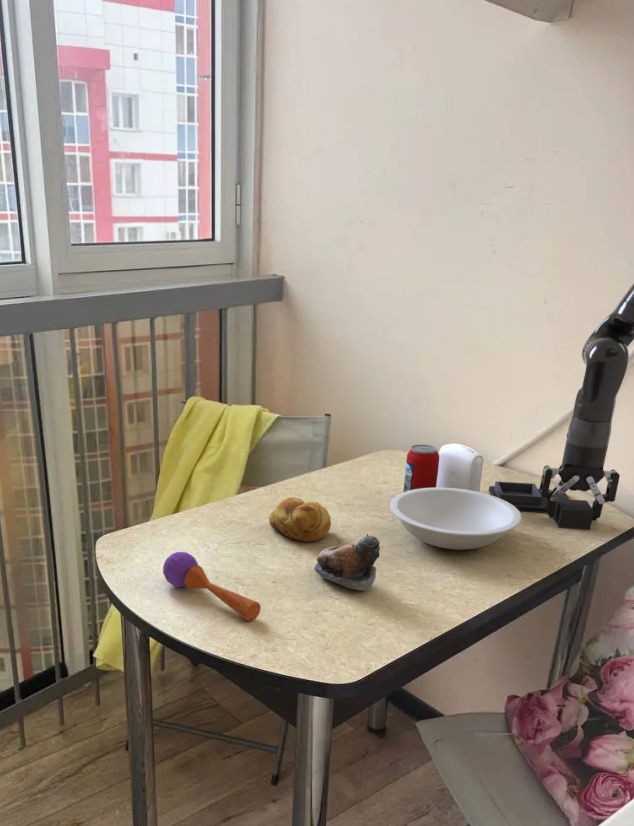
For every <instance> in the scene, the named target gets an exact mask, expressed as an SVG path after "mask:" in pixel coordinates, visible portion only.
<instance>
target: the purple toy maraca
mask: <svg viewBox="0 0 634 826" xmlns="http://www.w3.org/2000/svg"><path fill="white" fill-rule="evenodd" d="M162 573H163V577H164V579H165V580H166V582H168V584H170V585H172V586H174V587H176V588H187V589H189V590H190V589H191V590H197V589H200V590H201V589H206V590H208V591H209V592H210V593H211V594H213V595H214V596H215V597H217V598H218V599H219V600H221V601H222V602H223V603H224V604H225V605H227V606H228V607H229V608H230V609H232V610H233V612H235V613H237V614H238V615H239V616H241V617H242V618H243V619H244V620H246V621H247V622H249V623H250V622H253V621H254V620H256V619H257V618H258V617H259V615H260V612H261V609H262V608H261V604H260V602H258V601H256V600H253V599H251V598H248V597H246V596H243V595H241V594H238V593H236V592H234V591H232V590H229V589H226V588H225V587H222V586H219V585H216V584H214V583H212V582H210V580H209V577H208V576H207V574H206V572H205V570H204V568H203V567H202V566H201V565H199V564H198V561H197V560H196V558H195V557H194V556H193V555H192V554H190V553H188V552H186V551H176V552H173V553H171V554H170V555H169V556H167V558H166V559H165V561H164V563H163V567H162Z"/></svg>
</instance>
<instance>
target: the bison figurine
mask: <svg viewBox="0 0 634 826" xmlns="http://www.w3.org/2000/svg"><path fill="white" fill-rule="evenodd" d="M380 545H381V539H378V537H376V536H373V535H369V534H368V533H367V534H366V535H365V536H364V537H362V538H361V539H359V540H358V543H357V544H354V543H348V544H347V543H346V544H345V545H342V546H340V547H338V546H336V545H332V546H330V547H327V548H324V549H322V550H321V551H320V553H319V554H318V555H317V557H316V562H317V563H316V564H315V565H314V569H313V570H314V571H315V573H317V575H319V576H320V577H321V578H322V579H324V580H327V581H329V582H332V583H335V584H338V585H340V586H343V587H344V588H348V589H352V590H356V591H361V592H364V591H369V590H370V589H371V587H372V585H373V584H374V582H375V580H376V576H377V567H376V566H375V562H376V561H377V559H379V558H380V550H381V546H380Z"/></svg>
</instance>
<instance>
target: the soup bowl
mask: <svg viewBox="0 0 634 826" xmlns="http://www.w3.org/2000/svg"><path fill="white" fill-rule="evenodd" d="M389 509H390V511H391V513H392V514H393V515H394V516H395V518H397V519H398V520H399V521H400V522H401V524H402V525H403V526H404V528H405V529H406V530H407V531H408V532H409V533H410V534H411V535H412V536H414V537H415V538H416V539H418V540H420V541H421V542H423V543H426V544H427V545H431V546H434V547H437V548H440V549H446V550H447V549H448V550H456V551H457V550H459V551H461V550H474V549H480V548H482V547H486V546H488V545H491V544H493V543H495V542H496V541H498V540H500V539H501V538H502V537H503V536H504V535H505V534H506V533H508V532H511V531H513V530H514V529H516V528H517V527H518V526H520V524H521V522H522V519H523V518H522V514H521V511H519V510H518V509H517V508H516V507H514V506H513V505H512V504H510V503H508V502H507V501H505V500H502V499H500V498H498V497H495V496H492V495H491V494H490V493H489V494H488V493H485V492H481V491H479V492H477V491H472V490H466V489H458V488H443V487H435V488H421V489H414V490H410V491H406V492H400V493H398V494H397V495H395V496H394V497H392V499H391V500H390V503H389Z"/></svg>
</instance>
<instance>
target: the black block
mask: <svg viewBox="0 0 634 826" xmlns="http://www.w3.org/2000/svg"><path fill="white" fill-rule="evenodd" d="M569 499H570V498H569ZM569 499H556V501H557V503H556V509H555V514H554V518H553V520H554V522H555V523H556V525H557V527H558V528H559V529H574V530H587V531H589V530H591V529H592V524H593V521H592V519H593V515H594V510H593V509H592V505H591V504H590V503H589V502H588V500H586V499H585V500H582V499H570V500H569Z"/></svg>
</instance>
